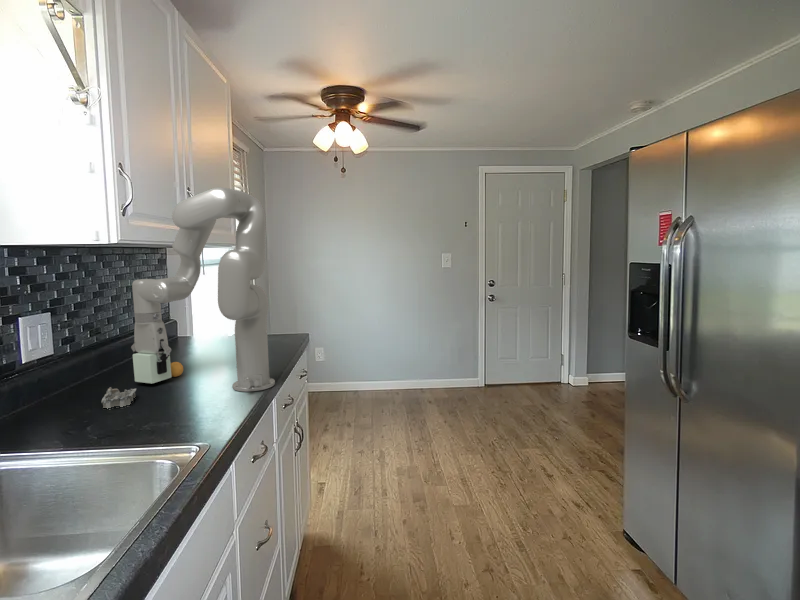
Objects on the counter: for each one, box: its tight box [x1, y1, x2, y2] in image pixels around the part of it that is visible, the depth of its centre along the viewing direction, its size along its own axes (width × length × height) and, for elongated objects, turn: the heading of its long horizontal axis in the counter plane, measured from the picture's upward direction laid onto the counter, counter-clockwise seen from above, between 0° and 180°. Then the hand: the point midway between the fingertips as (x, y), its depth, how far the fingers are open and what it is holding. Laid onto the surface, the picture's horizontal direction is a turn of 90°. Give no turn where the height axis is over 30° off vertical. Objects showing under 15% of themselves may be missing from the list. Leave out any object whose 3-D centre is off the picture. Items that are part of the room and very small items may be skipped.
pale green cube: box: [132, 351, 173, 384], centre depth 157 cm, size 8×8×9 cm
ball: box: [170, 361, 184, 378], centre depth 166 cm, size 5×5×5 cm
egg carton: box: [100, 386, 137, 409], centre depth 138 cm, size 11×8×4 cm
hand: (152, 371), depth 158 cm, fingers closed on pale green cube, 7 cm apart
